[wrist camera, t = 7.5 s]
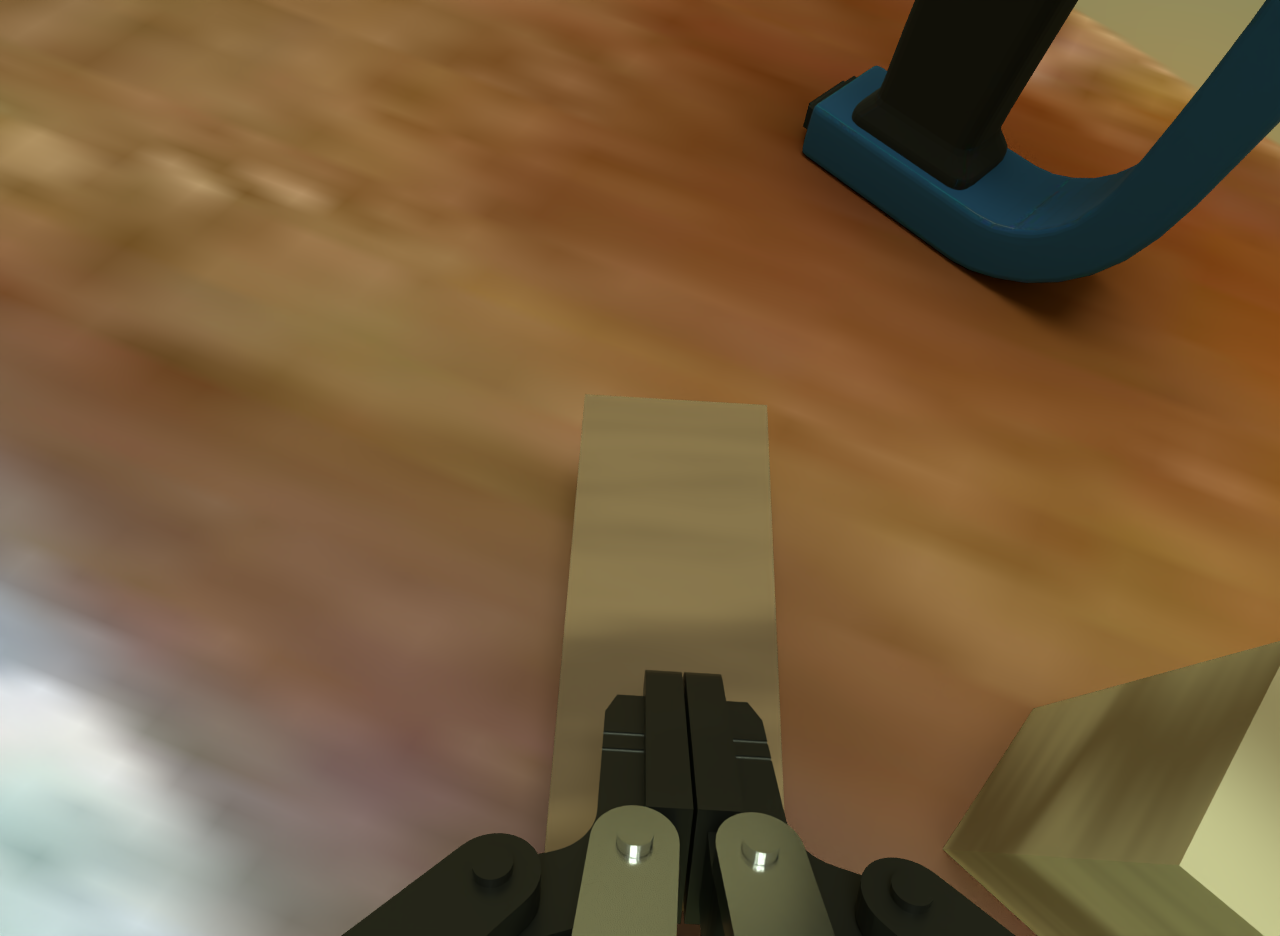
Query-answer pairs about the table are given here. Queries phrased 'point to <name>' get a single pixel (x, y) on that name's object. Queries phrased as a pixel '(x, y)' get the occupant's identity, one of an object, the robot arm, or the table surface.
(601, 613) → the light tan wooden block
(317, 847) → the table surface
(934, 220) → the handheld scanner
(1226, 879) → the beech block
